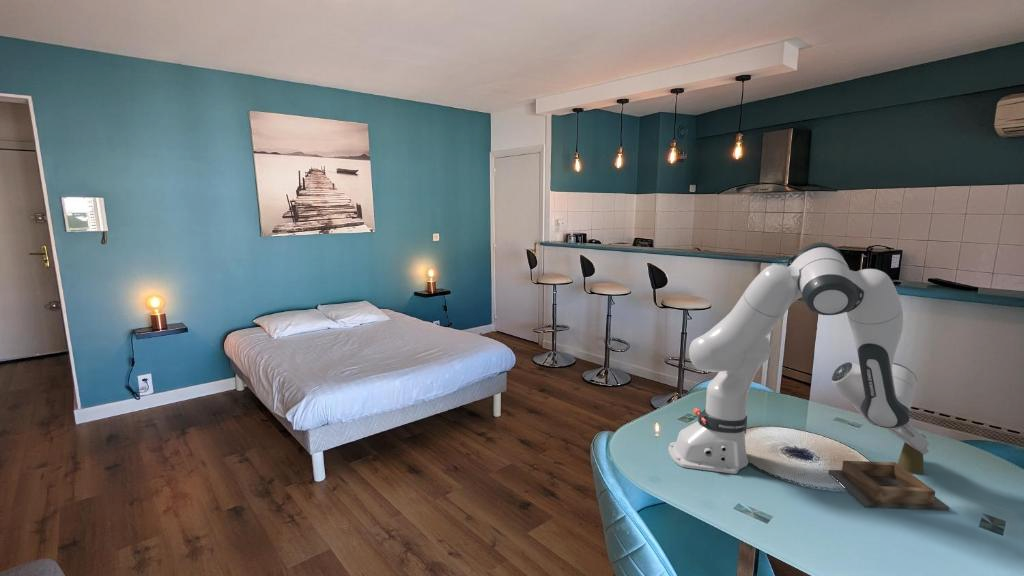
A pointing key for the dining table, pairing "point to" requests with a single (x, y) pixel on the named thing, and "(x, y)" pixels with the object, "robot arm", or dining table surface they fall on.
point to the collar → (886, 486)
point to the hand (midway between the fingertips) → (913, 444)
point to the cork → (911, 459)
